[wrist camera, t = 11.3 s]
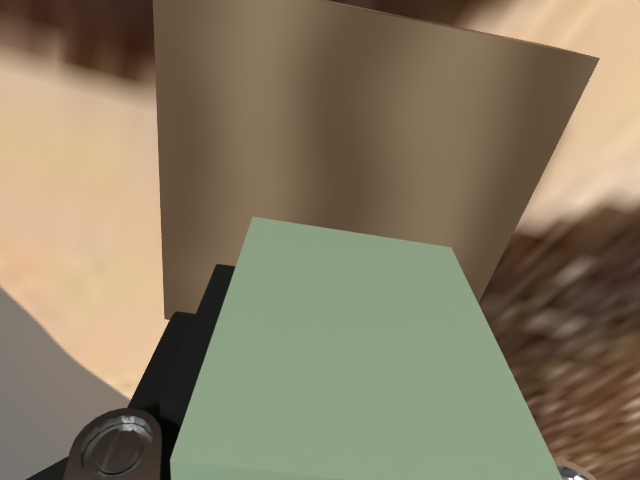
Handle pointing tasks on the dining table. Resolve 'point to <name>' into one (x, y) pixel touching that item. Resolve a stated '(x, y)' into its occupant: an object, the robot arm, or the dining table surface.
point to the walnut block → (347, 130)
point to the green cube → (354, 369)
